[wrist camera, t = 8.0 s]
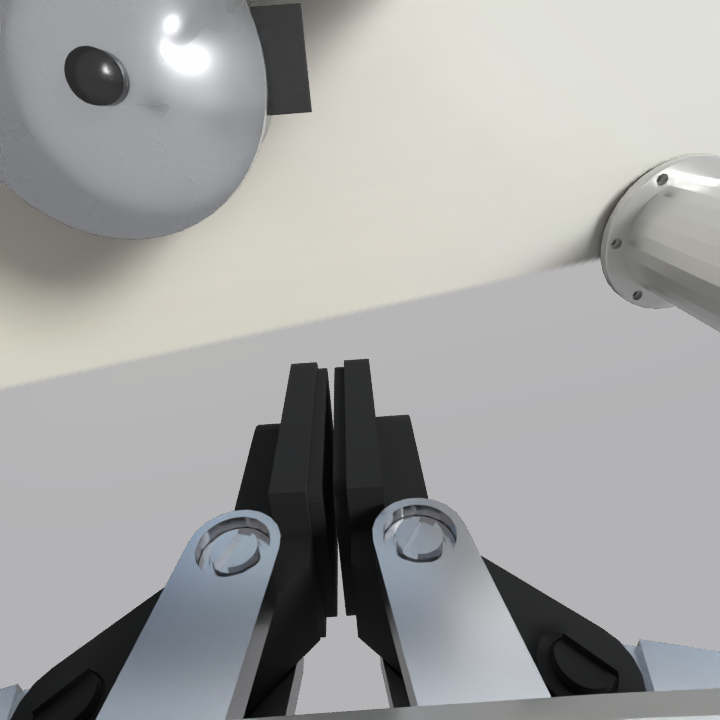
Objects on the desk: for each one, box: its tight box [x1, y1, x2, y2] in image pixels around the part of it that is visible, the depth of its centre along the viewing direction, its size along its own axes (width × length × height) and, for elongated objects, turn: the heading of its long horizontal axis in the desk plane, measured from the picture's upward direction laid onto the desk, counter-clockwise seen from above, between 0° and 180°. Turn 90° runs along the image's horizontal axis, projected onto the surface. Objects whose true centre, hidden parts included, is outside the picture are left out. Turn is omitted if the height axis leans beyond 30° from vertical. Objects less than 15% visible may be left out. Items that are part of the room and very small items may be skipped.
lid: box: [0, 0, 268, 239], centre depth 24 cm, size 16×16×3 cm
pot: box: [245, 1, 312, 146], centre depth 29 cm, size 20×16×9 cm
